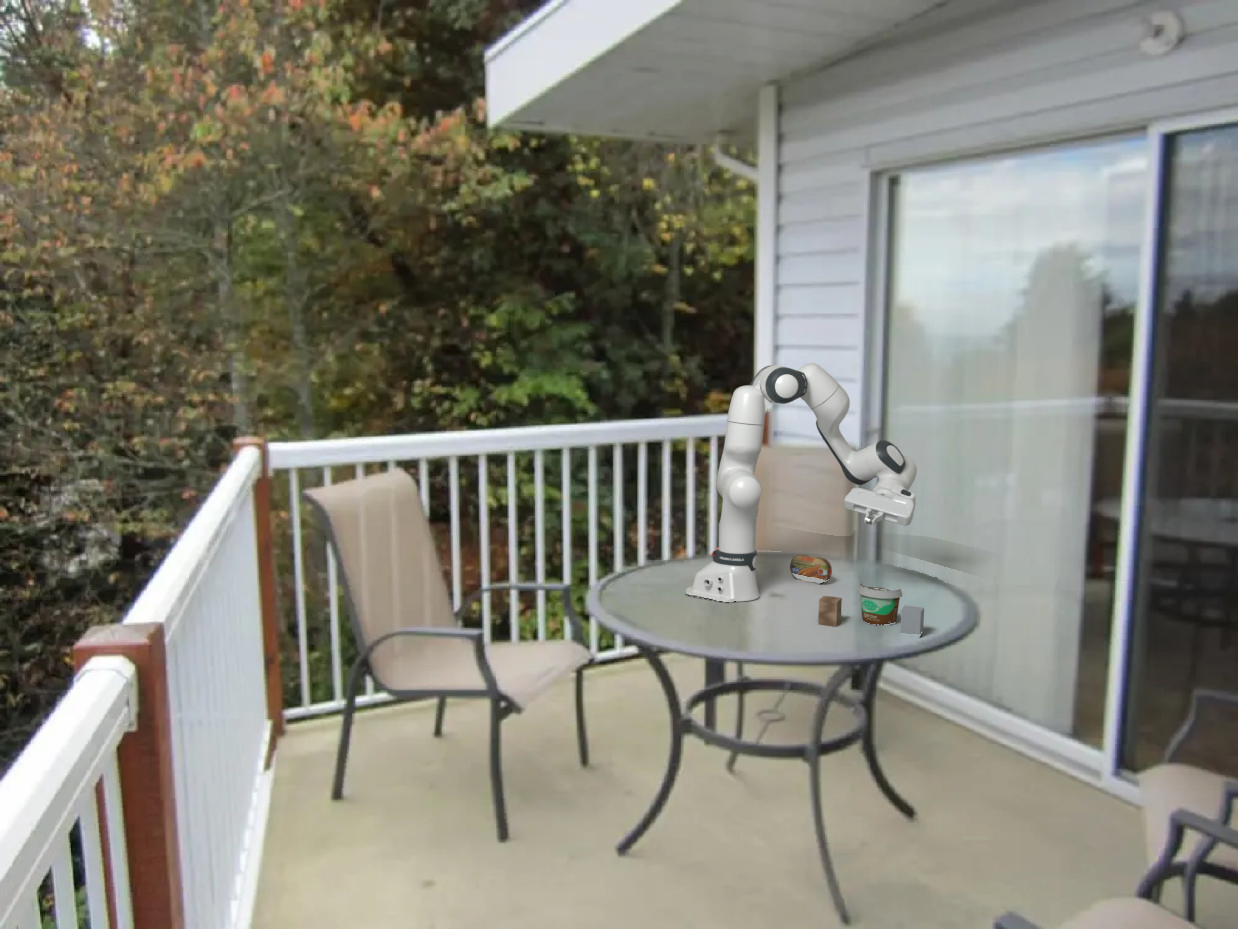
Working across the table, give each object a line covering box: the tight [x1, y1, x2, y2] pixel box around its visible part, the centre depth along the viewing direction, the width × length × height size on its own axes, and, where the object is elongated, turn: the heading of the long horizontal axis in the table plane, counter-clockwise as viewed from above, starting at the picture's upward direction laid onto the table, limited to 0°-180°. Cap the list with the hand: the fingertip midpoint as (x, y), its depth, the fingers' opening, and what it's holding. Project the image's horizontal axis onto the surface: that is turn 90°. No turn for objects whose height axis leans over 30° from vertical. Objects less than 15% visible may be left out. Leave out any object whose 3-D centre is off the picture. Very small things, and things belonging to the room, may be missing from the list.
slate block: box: [899, 605, 925, 635], centre depth 260 cm, size 5×5×7 cm
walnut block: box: [817, 595, 843, 628], centre depth 270 cm, size 5×5×7 cm
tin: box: [789, 554, 833, 581], centre depth 317 cm, size 15×3×8 cm, turn 43°
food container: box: [857, 582, 903, 626], centre depth 270 cm, size 12×6×10 cm, turn 53°
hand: (868, 522), depth 285 cm, fingers closed
